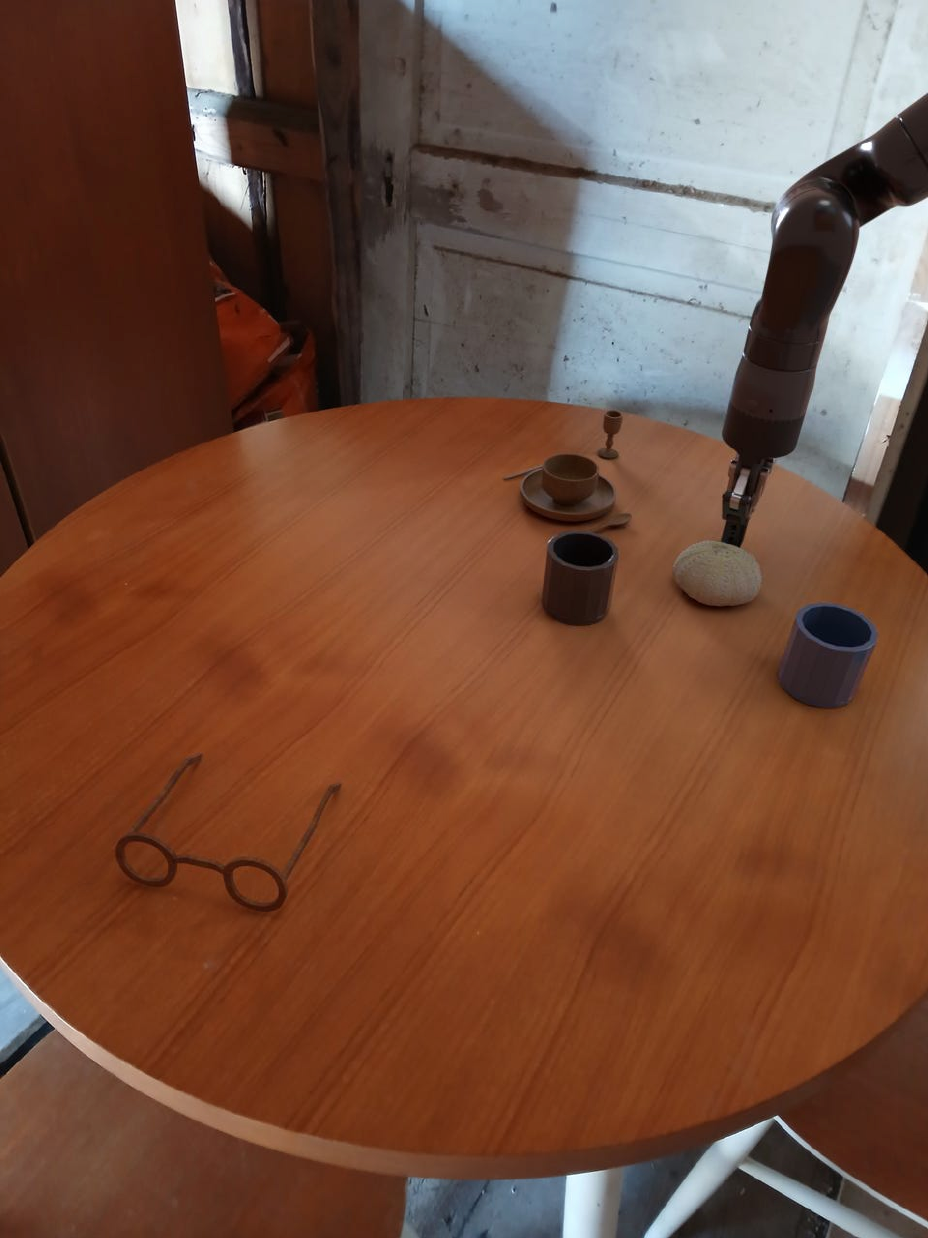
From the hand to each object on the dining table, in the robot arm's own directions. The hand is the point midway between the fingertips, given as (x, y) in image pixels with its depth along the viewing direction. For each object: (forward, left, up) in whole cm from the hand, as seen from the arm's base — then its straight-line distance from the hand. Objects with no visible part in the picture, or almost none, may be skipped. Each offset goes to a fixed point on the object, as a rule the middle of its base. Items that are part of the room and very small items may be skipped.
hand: (731, 543), depth 101 cm
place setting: (+19, -7, -3) cm, 21 cm away
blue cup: (-13, +16, -3) cm, 20 cm away
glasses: (+24, +57, -3) cm, 62 cm away
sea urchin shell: (0, +5, -3) cm, 6 cm away
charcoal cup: (+12, +16, -3) cm, 20 cm away
